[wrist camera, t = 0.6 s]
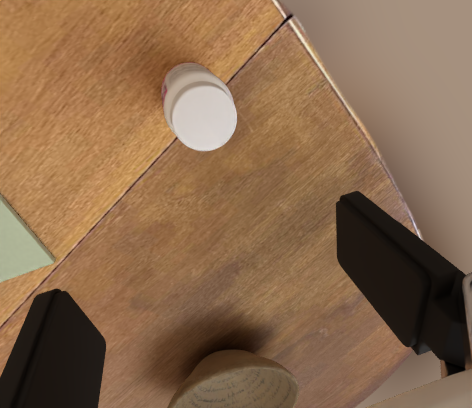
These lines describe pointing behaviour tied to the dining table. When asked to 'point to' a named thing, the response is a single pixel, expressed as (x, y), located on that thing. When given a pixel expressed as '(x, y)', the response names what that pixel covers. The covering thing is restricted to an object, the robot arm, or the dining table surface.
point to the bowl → (237, 383)
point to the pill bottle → (198, 107)
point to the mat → (19, 245)
